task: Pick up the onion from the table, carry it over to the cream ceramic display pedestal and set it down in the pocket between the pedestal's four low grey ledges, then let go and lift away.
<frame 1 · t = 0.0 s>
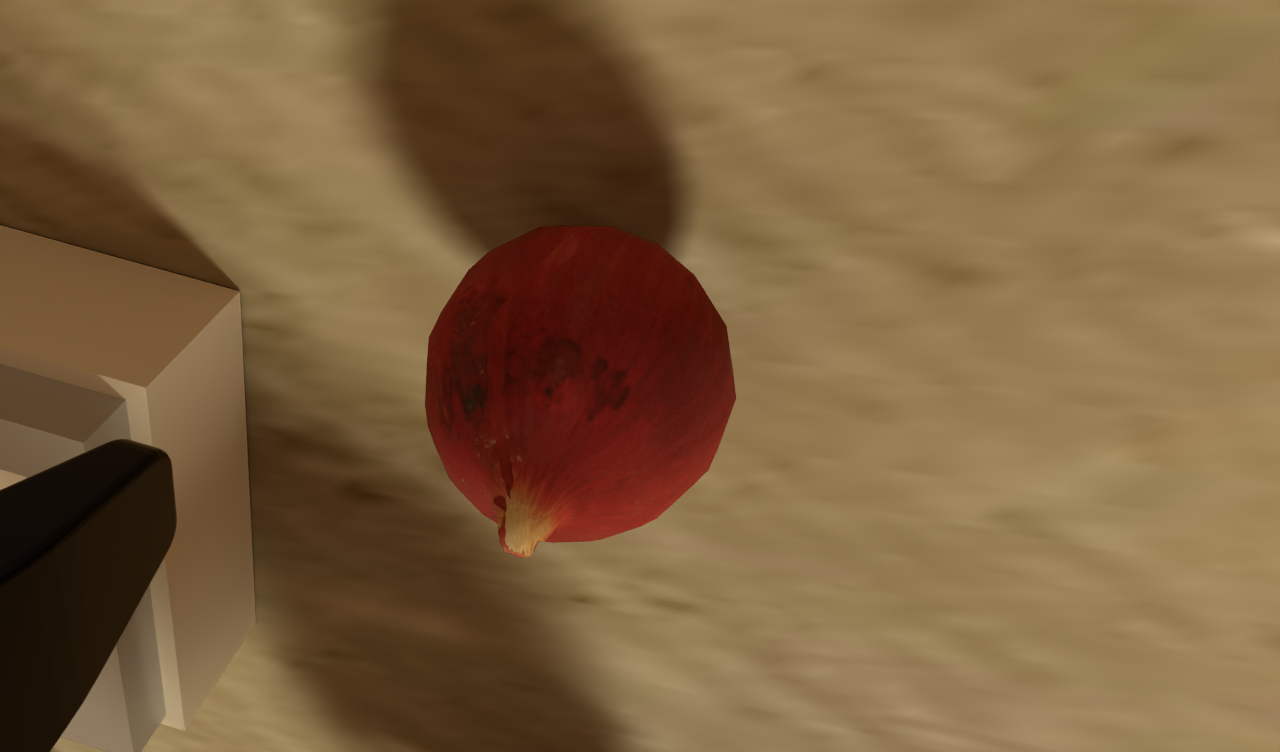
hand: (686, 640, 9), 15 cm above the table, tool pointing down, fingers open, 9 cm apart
display pedestal: (42, 416, 32), on the table
onion: (626, 279, 25), on the table
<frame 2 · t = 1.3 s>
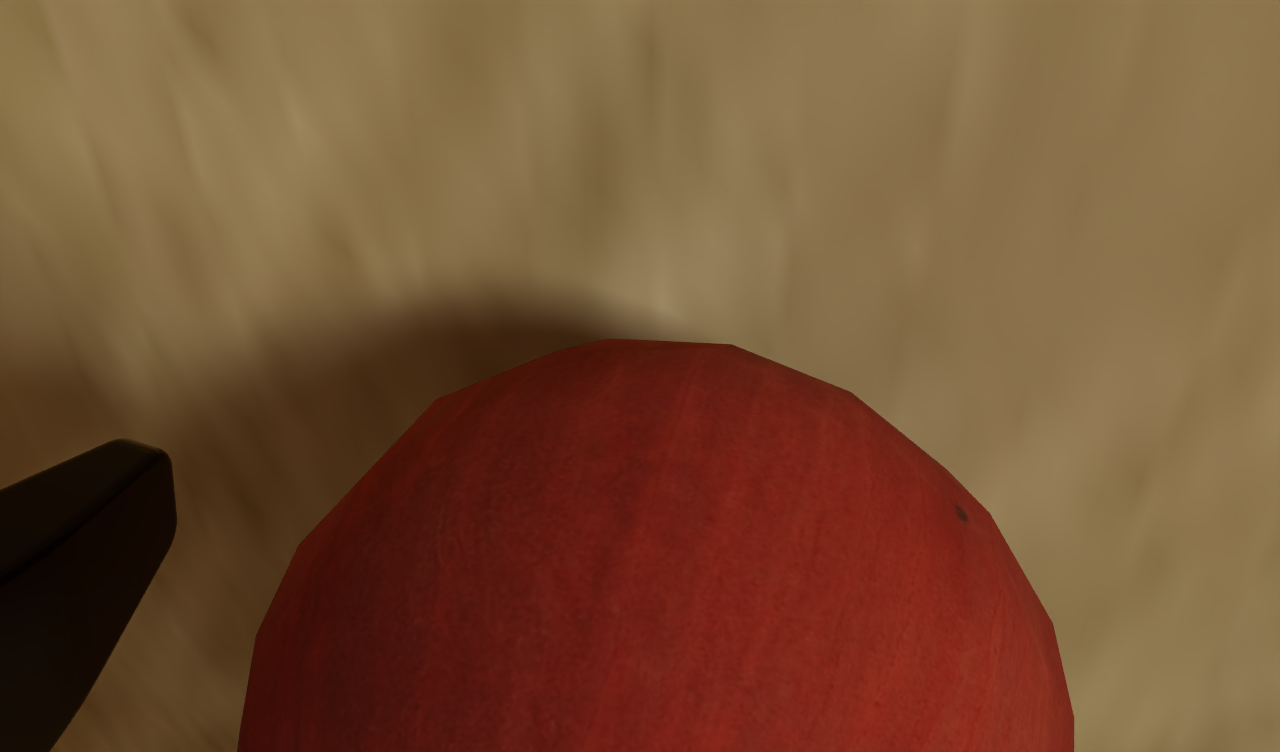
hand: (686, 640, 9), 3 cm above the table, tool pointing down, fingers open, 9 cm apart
onion: (734, 422, 12), on the table
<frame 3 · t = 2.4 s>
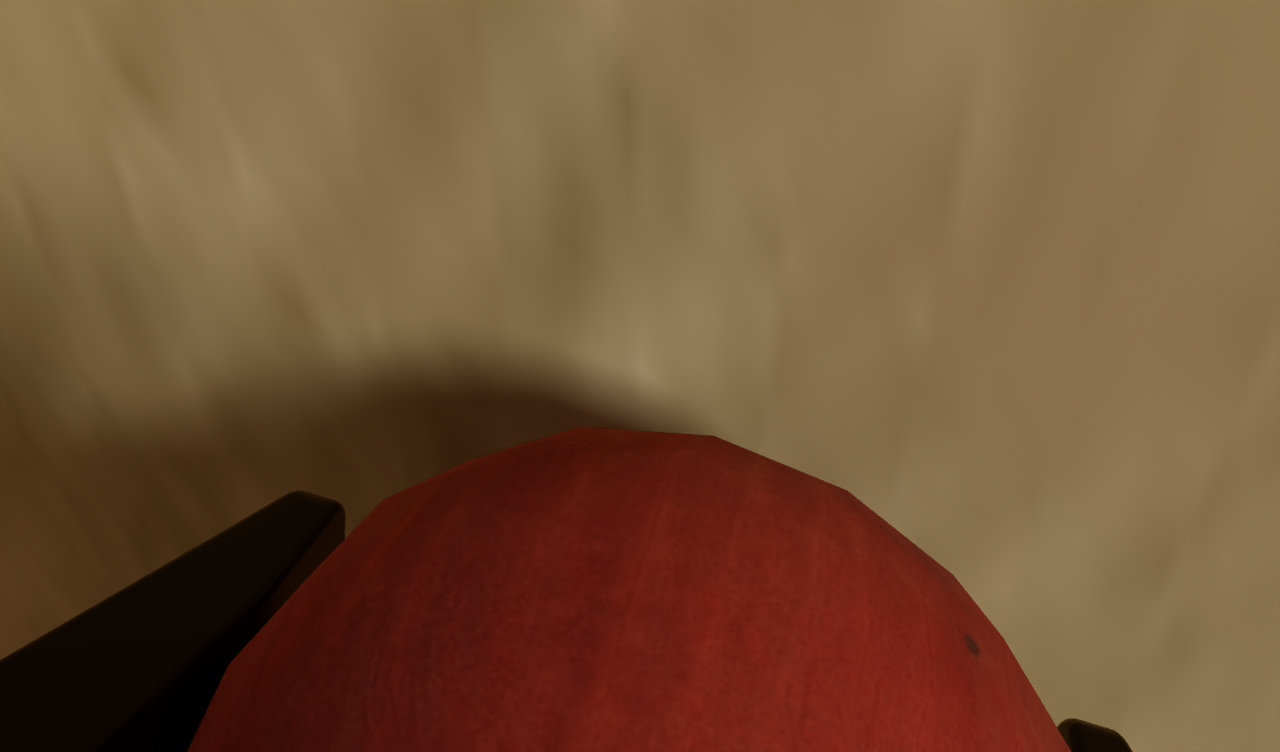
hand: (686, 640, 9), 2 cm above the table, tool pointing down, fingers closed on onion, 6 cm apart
onion: (721, 494, 11), on the table, touching gripper
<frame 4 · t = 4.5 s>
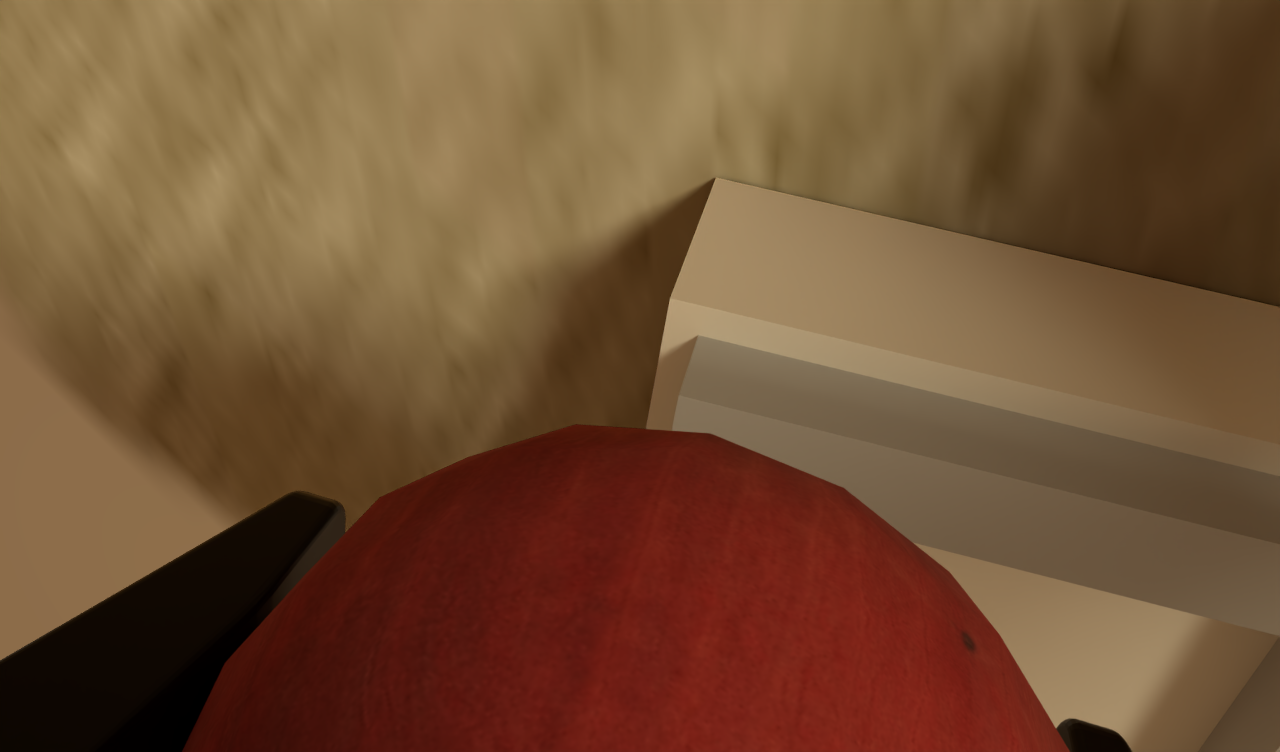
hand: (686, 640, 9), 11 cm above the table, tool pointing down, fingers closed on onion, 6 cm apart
display pedestal: (960, 521, 23), on the table
onion: (718, 492, 11), point 10 cm above the table, touching gripper
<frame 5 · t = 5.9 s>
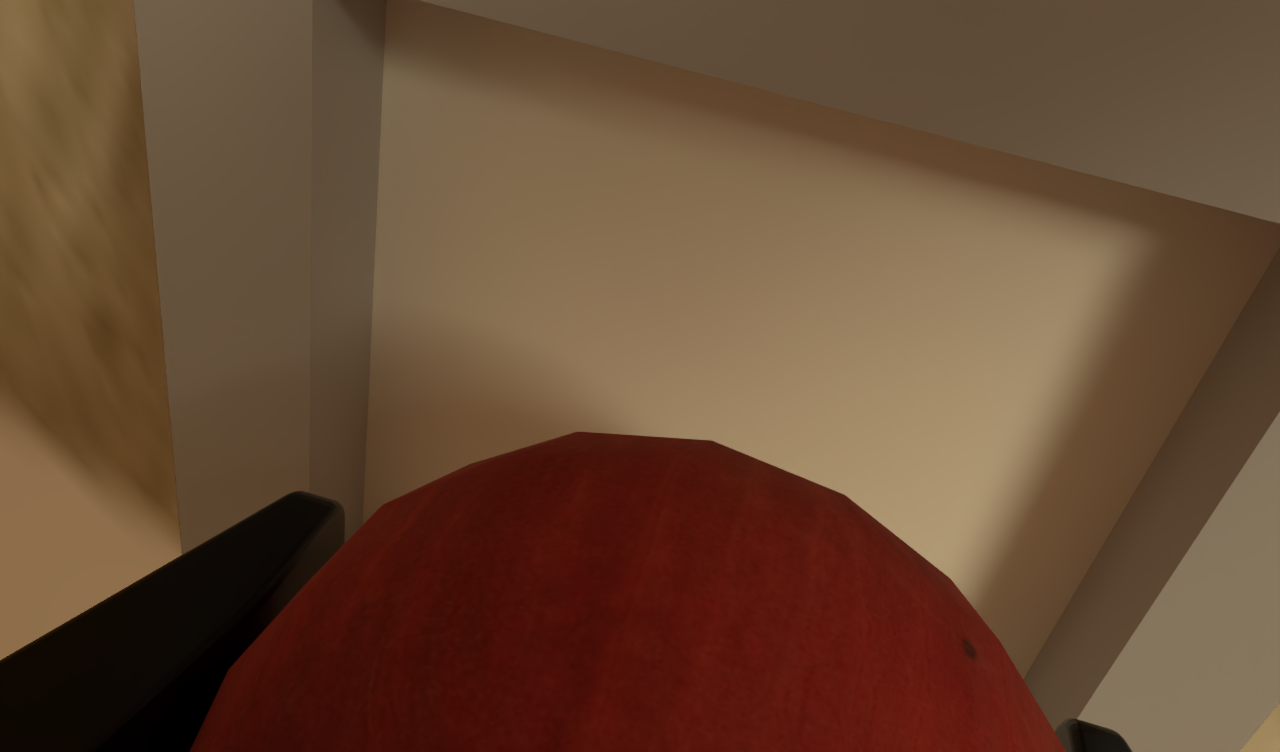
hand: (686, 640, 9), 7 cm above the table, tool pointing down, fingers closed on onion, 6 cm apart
display pedestal: (783, 230, 15), on the table
onion: (719, 497, 11), point 5 cm above the table, touching gripper
when the fingers open (7 cm above the table, at t = 6.7 s): onion drops 2 cm, resting on display pedestal.
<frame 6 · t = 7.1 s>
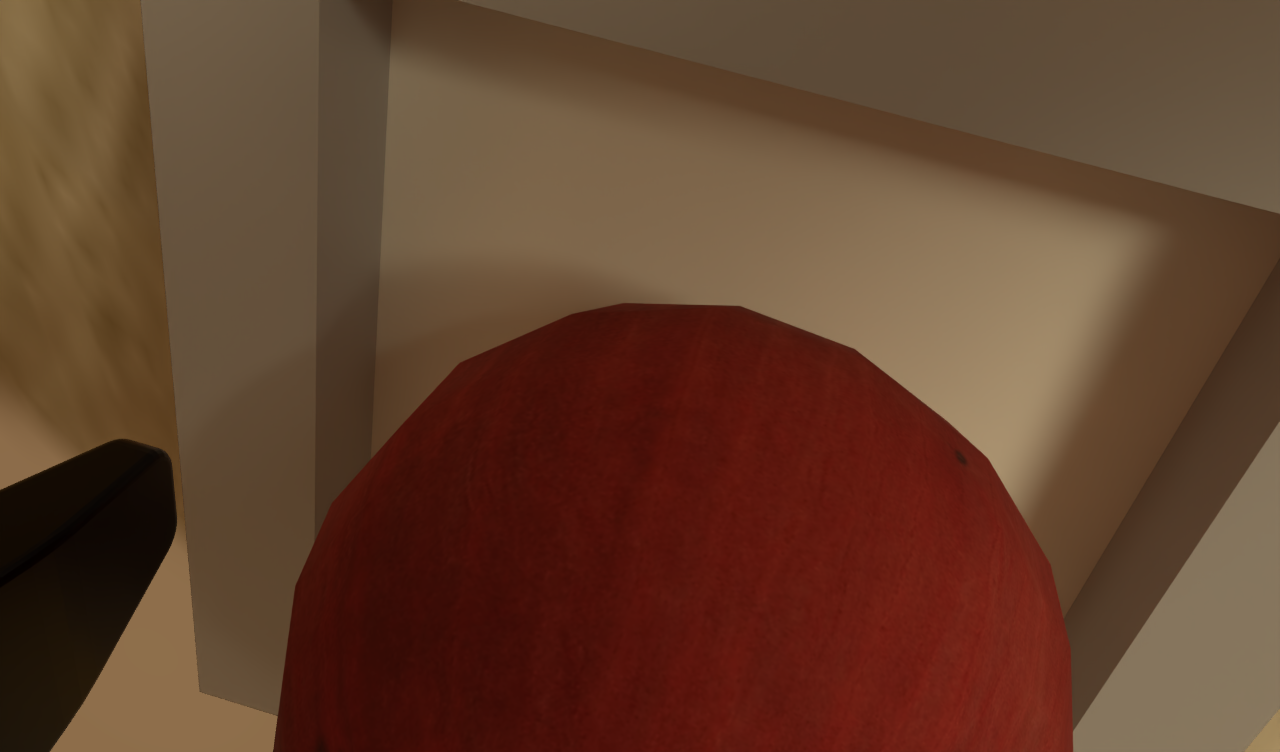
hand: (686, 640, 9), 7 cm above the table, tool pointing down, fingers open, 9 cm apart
display pedestal: (789, 225, 15), on the table
onion: (743, 388, 12), point 4 cm above the table, touching display pedestal
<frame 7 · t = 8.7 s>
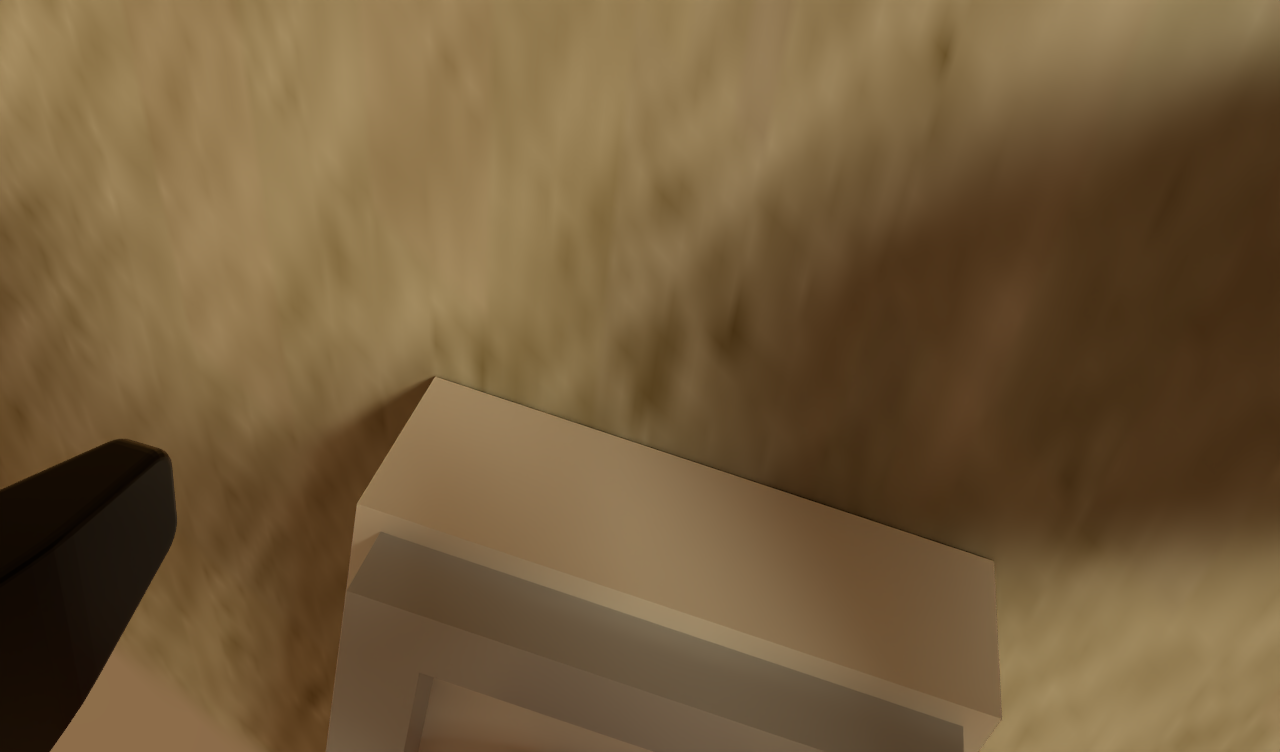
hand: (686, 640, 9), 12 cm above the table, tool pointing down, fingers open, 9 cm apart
display pedestal: (643, 650, 27), on the table
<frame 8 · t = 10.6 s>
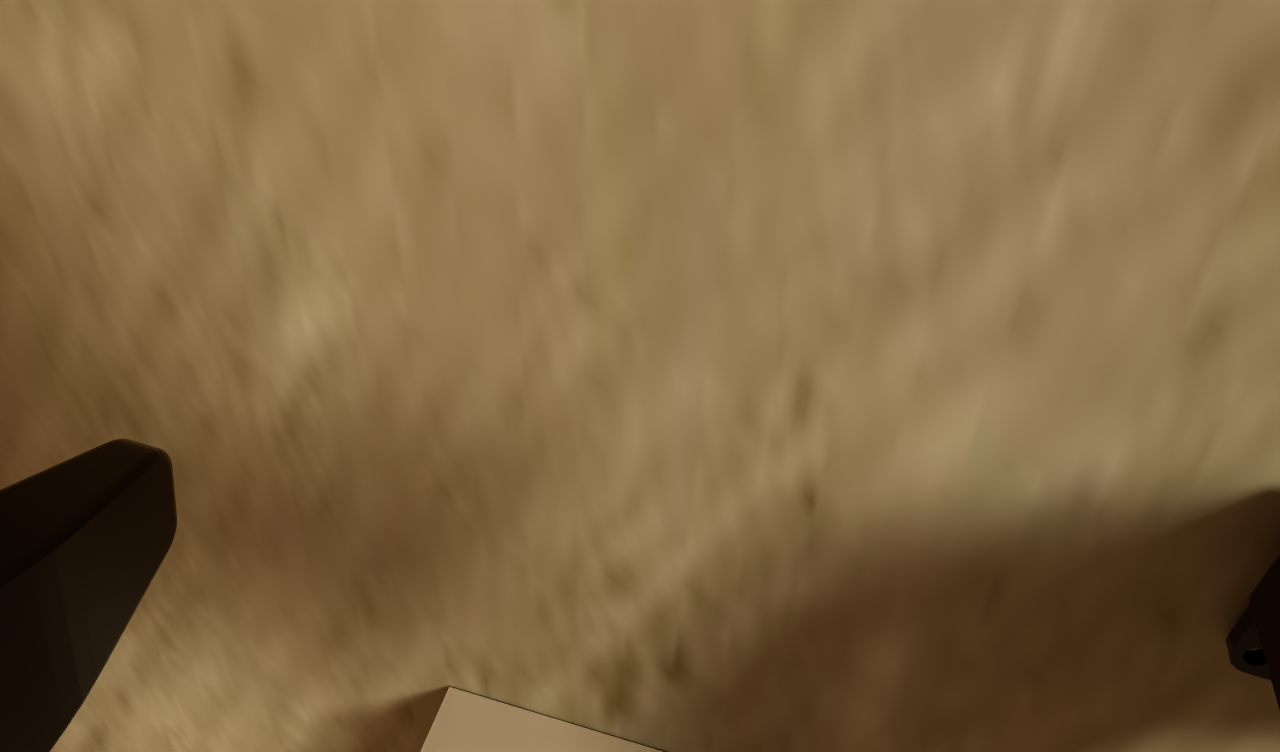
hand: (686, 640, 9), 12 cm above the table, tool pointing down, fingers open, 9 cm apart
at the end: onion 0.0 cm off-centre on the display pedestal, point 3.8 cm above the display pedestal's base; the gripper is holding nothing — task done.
